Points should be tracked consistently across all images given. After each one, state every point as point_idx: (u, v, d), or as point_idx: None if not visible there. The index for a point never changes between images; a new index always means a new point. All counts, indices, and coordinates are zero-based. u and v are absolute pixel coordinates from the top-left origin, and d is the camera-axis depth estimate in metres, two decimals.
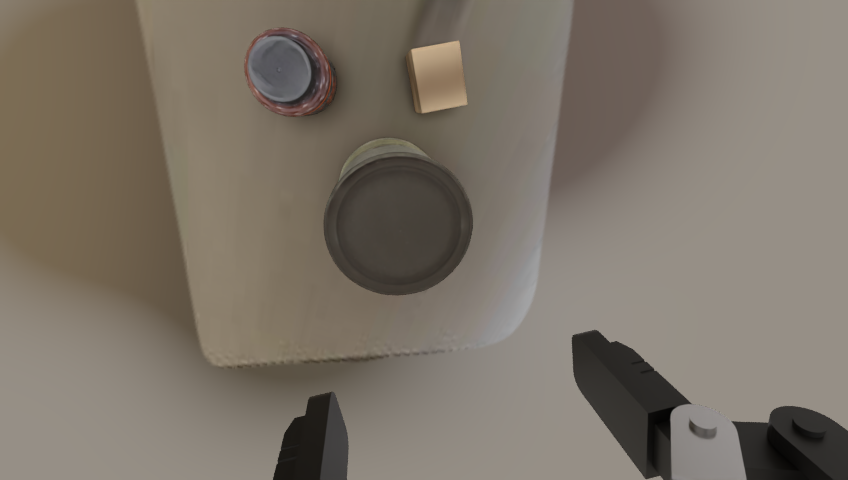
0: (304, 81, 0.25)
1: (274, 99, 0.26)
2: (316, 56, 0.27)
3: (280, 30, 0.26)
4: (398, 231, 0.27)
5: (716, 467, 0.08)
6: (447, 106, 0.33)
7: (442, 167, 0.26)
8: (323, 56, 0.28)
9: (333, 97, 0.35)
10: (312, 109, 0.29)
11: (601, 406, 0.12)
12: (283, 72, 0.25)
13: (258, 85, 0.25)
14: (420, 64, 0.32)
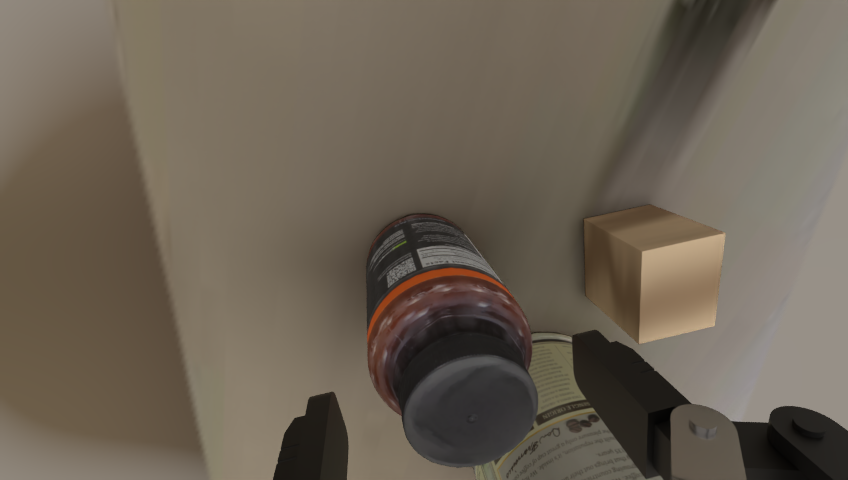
0: (522, 431, 0.11)
1: (451, 466, 0.12)
2: (520, 334, 0.13)
3: (454, 294, 0.12)
4: None
5: (716, 467, 0.08)
6: (682, 331, 0.19)
7: None
8: (527, 325, 0.13)
9: None
10: None
11: (601, 406, 0.12)
12: (480, 421, 0.11)
13: (423, 449, 0.11)
14: (652, 272, 0.18)
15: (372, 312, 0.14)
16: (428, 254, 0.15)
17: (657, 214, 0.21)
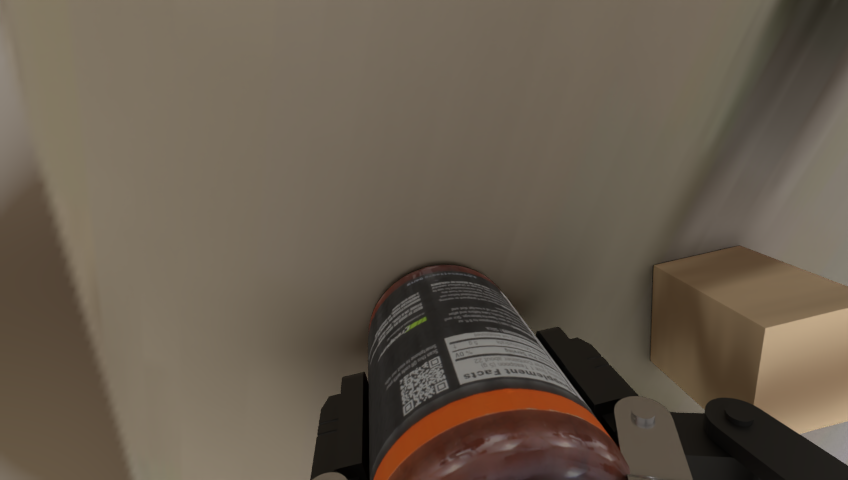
0: None
1: None
2: None
3: (523, 457, 0.07)
4: None
5: (660, 455, 0.08)
6: (806, 429, 0.14)
7: None
8: None
9: None
10: None
11: None
12: None
13: None
14: (775, 356, 0.12)
15: (378, 455, 0.09)
16: (465, 353, 0.09)
17: (758, 262, 0.15)
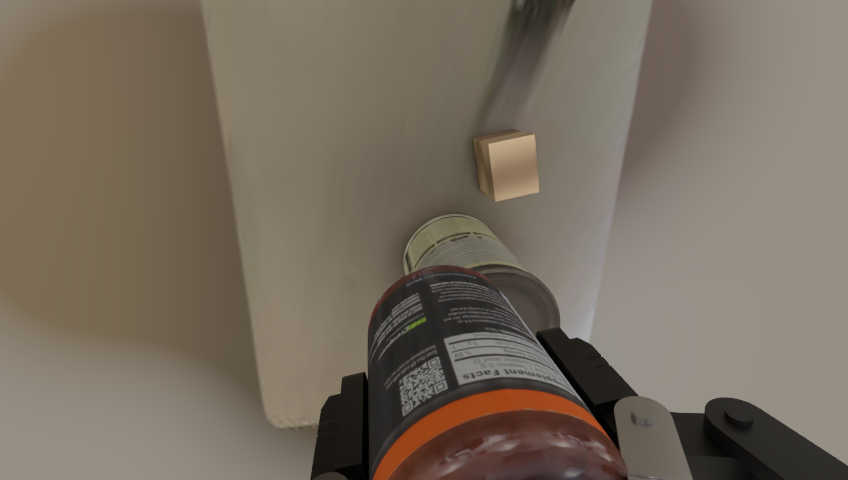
0: None
1: None
2: None
3: (522, 457, 0.07)
4: None
5: (660, 455, 0.08)
6: (520, 194, 0.34)
7: (535, 279, 0.27)
8: None
9: None
10: None
11: None
12: None
13: None
14: (496, 157, 0.32)
15: (377, 455, 0.09)
16: (464, 353, 0.09)
17: (512, 132, 0.35)
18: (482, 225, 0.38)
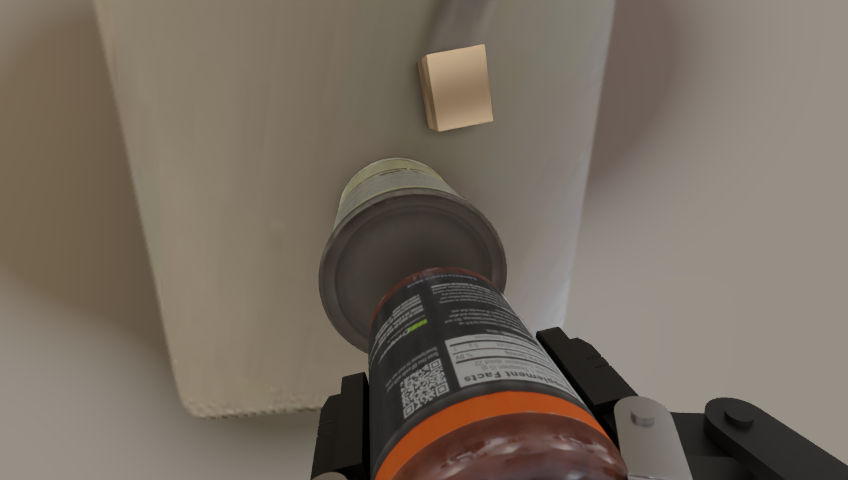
0: None
1: None
2: None
3: (524, 460, 0.07)
4: None
5: (661, 455, 0.08)
6: (469, 123, 0.28)
7: (470, 207, 0.20)
8: None
9: None
10: None
11: None
12: None
13: None
14: (436, 72, 0.26)
15: (379, 458, 0.09)
16: (466, 356, 0.09)
17: None
18: (430, 169, 0.31)
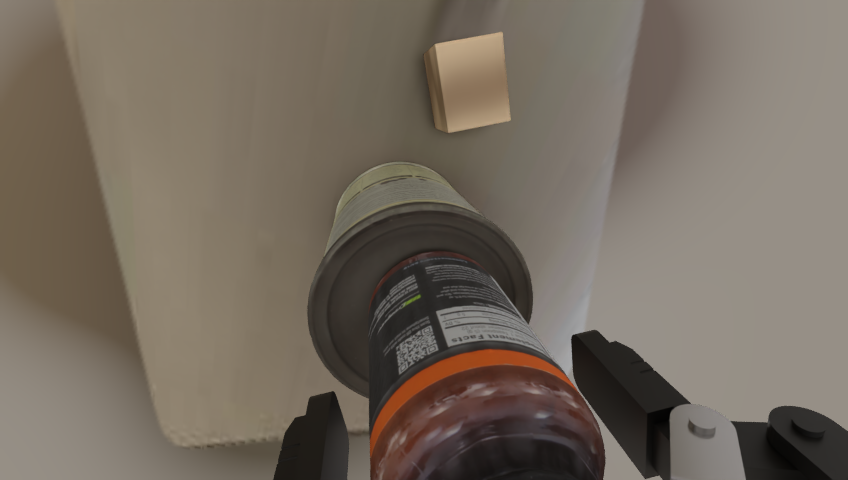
0: None
1: None
2: (592, 451, 0.09)
3: (499, 401, 0.08)
4: None
5: (716, 467, 0.08)
6: (483, 123, 0.24)
7: (491, 225, 0.17)
8: (599, 433, 0.09)
9: None
10: None
11: (600, 406, 0.12)
12: None
13: None
14: (447, 64, 0.23)
15: (377, 409, 0.10)
16: (454, 322, 0.11)
17: None
18: (437, 175, 0.28)
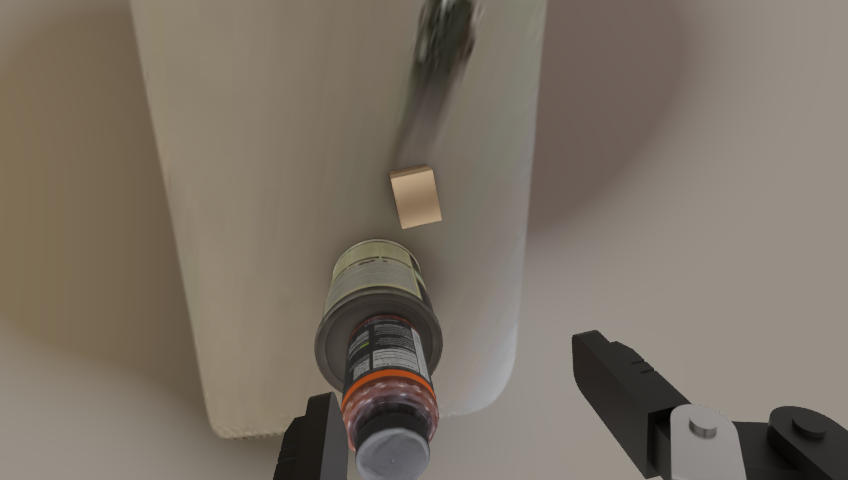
0: (421, 467, 0.21)
1: None
2: (427, 409, 0.23)
3: (387, 389, 0.22)
4: None
5: (717, 467, 0.08)
6: (424, 222, 0.38)
7: (414, 299, 0.30)
8: (433, 403, 0.23)
9: None
10: None
11: (601, 406, 0.12)
12: (397, 462, 0.21)
13: (367, 478, 0.21)
14: (399, 190, 0.37)
15: (344, 395, 0.24)
16: (378, 357, 0.25)
17: (420, 167, 0.40)
18: (399, 249, 0.42)
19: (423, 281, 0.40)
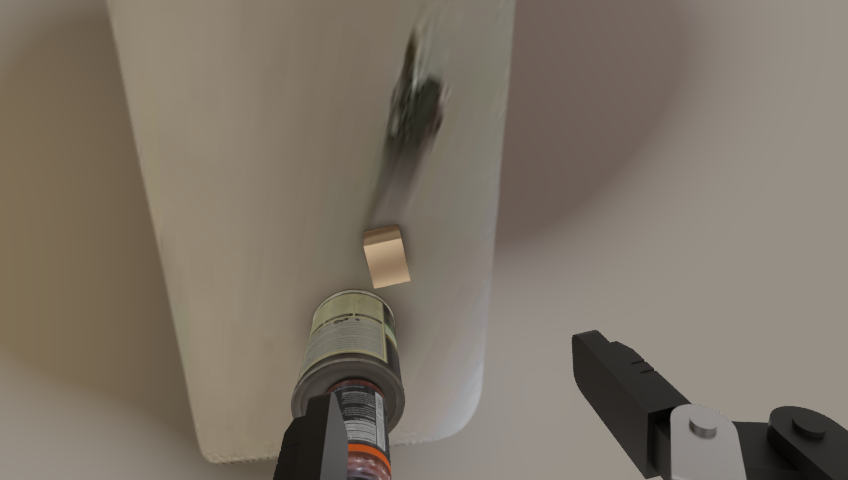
0: None
1: None
2: (380, 479, 0.27)
3: None
4: None
5: (717, 467, 0.08)
6: (394, 282, 0.42)
7: (379, 365, 0.35)
8: (386, 473, 0.27)
9: None
10: None
11: (601, 406, 0.12)
12: None
13: None
14: (371, 255, 0.41)
15: None
16: None
17: (392, 229, 0.44)
18: (373, 301, 0.46)
19: (394, 332, 0.45)
